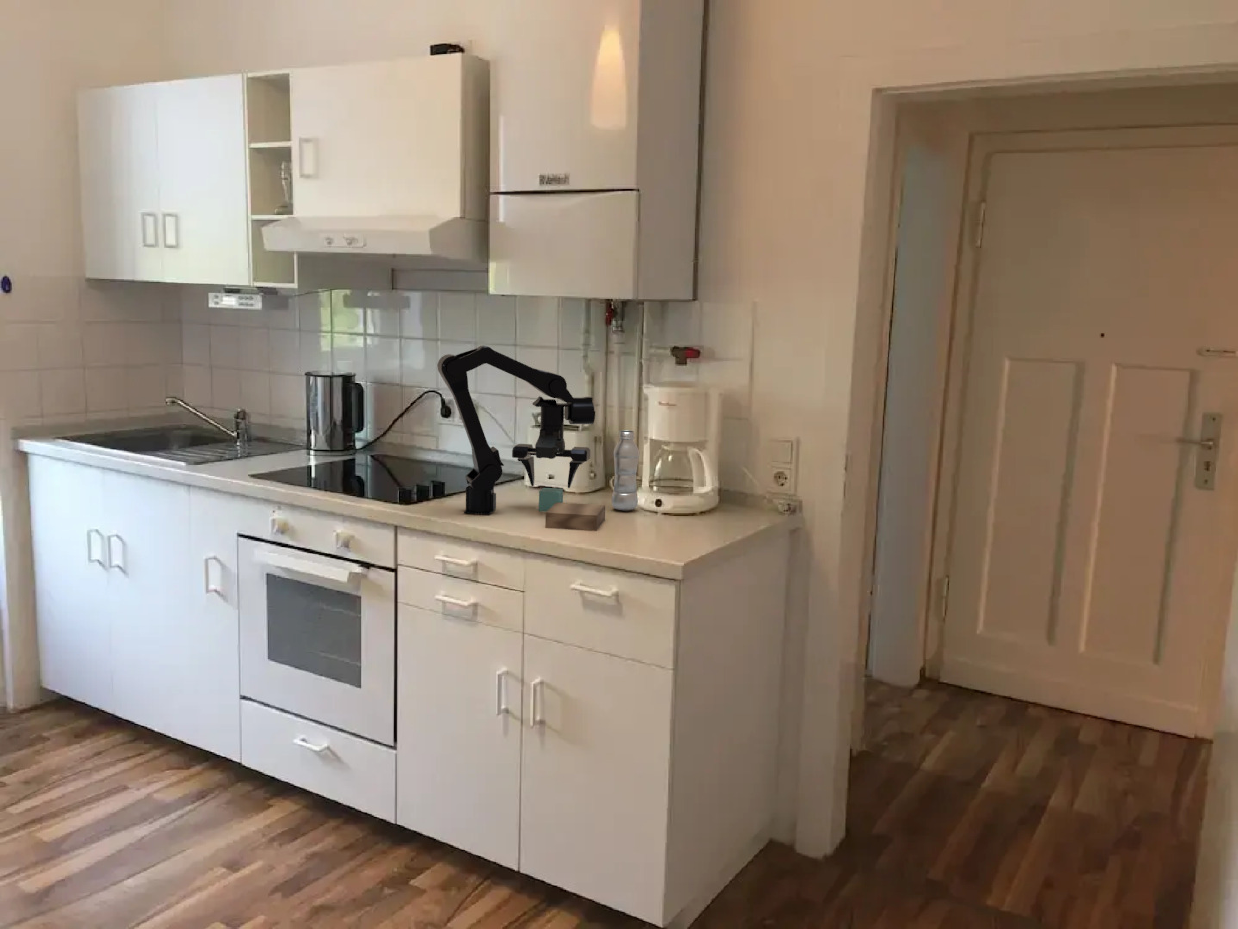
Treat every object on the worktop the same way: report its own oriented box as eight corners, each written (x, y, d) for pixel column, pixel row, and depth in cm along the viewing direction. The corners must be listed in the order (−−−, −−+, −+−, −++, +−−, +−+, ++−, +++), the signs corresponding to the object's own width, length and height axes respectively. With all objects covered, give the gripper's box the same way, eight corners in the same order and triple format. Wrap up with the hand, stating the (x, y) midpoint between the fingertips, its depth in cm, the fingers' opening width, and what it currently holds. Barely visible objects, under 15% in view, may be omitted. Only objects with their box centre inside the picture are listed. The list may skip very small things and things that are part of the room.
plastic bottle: (622, 506, 267) (624, 428, 264) (643, 510, 263) (645, 431, 260) (605, 510, 262) (607, 431, 259) (626, 514, 258) (629, 434, 255)
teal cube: (538, 511, 259) (539, 491, 258) (543, 507, 264) (543, 487, 263) (558, 512, 258) (559, 492, 258) (562, 508, 263) (563, 488, 262)
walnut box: (545, 529, 241) (545, 512, 241) (555, 518, 253) (556, 502, 252) (596, 532, 240) (596, 515, 239) (604, 521, 251) (605, 505, 251)
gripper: (506, 426, 251) (506, 490, 254) (583, 430, 248) (581, 495, 251) (518, 421, 262) (517, 482, 265) (591, 424, 259) (589, 486, 262)
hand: (550, 486), depth 260 cm, fingers open, 9 cm apart
